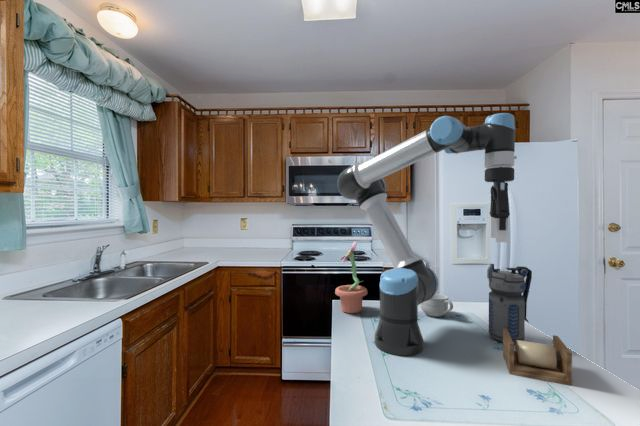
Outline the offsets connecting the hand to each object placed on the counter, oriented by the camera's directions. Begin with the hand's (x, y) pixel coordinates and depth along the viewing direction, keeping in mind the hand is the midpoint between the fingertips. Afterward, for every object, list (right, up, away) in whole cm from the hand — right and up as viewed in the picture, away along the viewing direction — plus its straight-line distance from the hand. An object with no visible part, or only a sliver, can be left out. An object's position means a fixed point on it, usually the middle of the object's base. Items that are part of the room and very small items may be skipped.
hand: (498, 240), depth 88 cm
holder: (+5, -34, -7) cm, 35 cm away
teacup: (-5, -34, +33) cm, 48 cm away
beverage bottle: (+10, -34, +11) cm, 38 cm away
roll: (+5, -30, -7) cm, 32 cm away
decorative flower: (-39, -34, +40) cm, 66 cm away
